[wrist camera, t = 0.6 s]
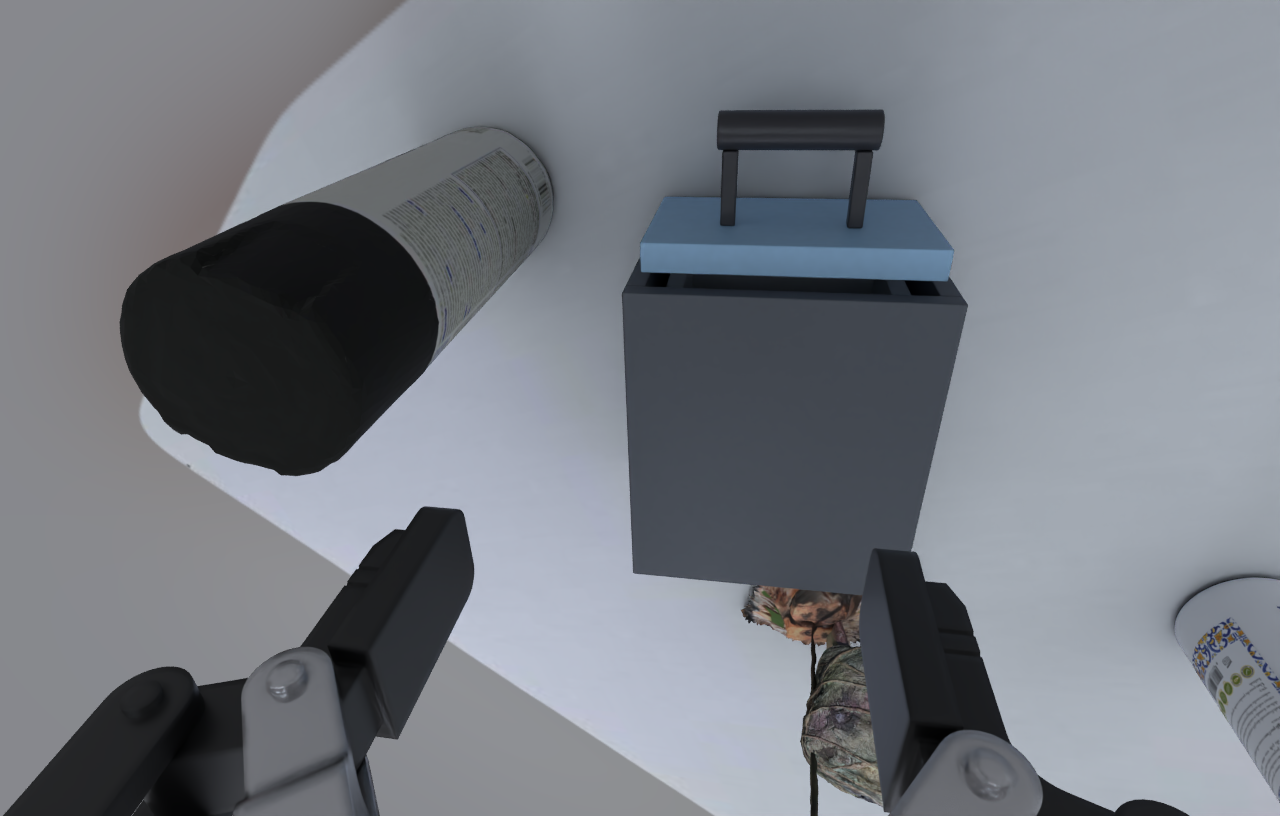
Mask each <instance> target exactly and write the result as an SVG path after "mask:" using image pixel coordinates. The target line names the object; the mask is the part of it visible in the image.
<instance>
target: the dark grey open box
mask: <svg viewBox="0 0 1280 816" xmlns="http://www.w3.org/2000/svg"><path fill="white" fill-rule="evenodd" d="M670 274H671V273H648V272H641V262H640V258H639V260H638V262H637V264H636V266H635V268H634V270H633V272H632V274H631V276H630V278H629V280H628V282H627V284H626V286H625V288H624V290H623V292H622V305H623V330H624V355H625V380H626V405H627V430H628V455H629V480H630V505H631V530H632V555H633V573H635V574H646V575H656V576H667V577H677V578H687V579H698V580H708V581H719V582H729V583H739V584H750V585H760V586H771V587H781V588H791V589H802V590H812V591H823V592H833V593H843V594H854V595H863V591H864V586H865V581H866V576H867V571H868V566H869V561H870V556H871V553H872V550H873V549H874V548H878V549H889V550H900V551H911V549H912V545H913V540H914V536H915V532H916V528H917V523H918V519H919V515H920V510H921V506H922V502H923V497H924V493H925V489H926V484H927V480H928V476H929V471H930V467H931V463H932V458H933V454H934V450H935V445H936V441H937V437H938V432H939V428H940V424H941V420H942V415H943V411H944V407H945V402H946V398H947V394H948V389H949V385H950V381H951V376H952V372H953V368H954V363H955V359H956V355H957V350H958V346H959V342H960V337H961V333H962V329H963V324H964V320H965V316H966V312H967V307H968V304H967V303H966V301H965V300H964V298H963V297H962V295H961V294H960V292H959V291H958V289H957V288H956V286H955V285H954V283H953V282H952V280H951V279H950V277H949V278H948V281H915V280H904V281H905V283H906V285H907V287H908V289H909V291H910V293H911V295H885V294H855V293H825V292H795V291H764V290H734V289H704V288H674V287H666V285H667V282H668V279H669V277H670Z"/></svg>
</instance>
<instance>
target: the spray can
mask: <svg viewBox="0 0 1280 816" xmlns="http://www.w3.org/2000/svg"><path fill="white" fill-rule="evenodd" d="M552 213H553V193H552V187H551V183H550V179H549V175H548V172H547V170H546V169H545V168H544V166H543V165H542V163H541V162H540V161H539V159H538V158H537V157H536V155H535V154H534V153H533V151H532V150H531V149H530V148H529V147H528V146H527V145H526V144H524V143H523V142H521V141H520V140H519V139H517V138H516V137H514V136H513V135H511V134H510V133H508V132H506V131H502V130H498V129H494V128H488V127H471V128H465V129H462V130H458V131H455V132H453V133H450V134H448V135H446V136H443V137H441V138H439V139H437V140H434V141H432V142H430V143H427V144H425V145H423V146H420V147H418V148H416V149H414V150H411V151H409V152H406V153H404V154H402V155H399V156H397V157H395V158H392V159H390V160H387V161H385V162H383V163H380V164H378V165H376V166H373V167H371V168H368V169H366V170H364V171H361V172H359V173H357V174H355V175H352V176H349V177H347V178H345V179H342V180H340V181H338V182H335V183H333V184H330V185H328V186H326V187H323V188H321V189H319V190H316V191H314V192H312V193H309V194H307V195H304V196H302V197H300V198H297V199H295V200H292V201H290V202H288V203H285V204H283V205H281V206H278V207H276V208H274V209H272V210H270V211H268V212H265V213H263V214H261V215H259V216H257V217H255V218H253V219H251V220H249V221H246V222H244V223H242V224H239V225H237V226H235V227H233V228H231V229H229V230H227V231H224V232H222V233H220V234H218V235H216V236H214V237H212V238H209V239H207V240H205V241H203V242H201V243H198V244H196V245H194V246H192V247H190V248H188V249H186V250H183V251H181V252H178V253H176V254H173V255H171V256H169V257H167V258H164V259H162V260H160V261H158V262H157V263H154V264H153V265H152V266H151V267H149V268H148V269H146V270H145V271H144V272H142V273H141V274H140V275H139V276H138V277H137V278H136V279H135V280H134V281H133V283H132V284H131V285H130V286H129V288H128V289H127V292H126V295H125V298H124V301H123V305H122V313H121V318H120V334H121V342H122V348H123V352H124V356H125V360H126V363H127V365H128V368H129V371H130V373H131V374H132V376H133V378H134V380H135V382H136V383H137V385H138V387H139V389H140V390H141V392H142V393H143V395H144V396H145V397H146V398H147V400H148V401H149V402H150V403H151V404H152V406H153V407H154V408H155V409H156V410H157V411H158V412H159V414H160V415H161V417H162V419H163V420H164V422H165V423H167V424H168V425H169V426H170V427H171V428H172V429H173V430H175V431H176V432H178V433H180V434H188V435H190V436H191V437H193V438H195V439H197V440H199V441H201V442H203V443H205V444H207V445H209V446H210V447H211V448H212V450H213V451H214V452H215V453H217V454H220V455H222V456H225V457H228V458H230V459H233V460H236V461H239V462H243V463H247V464H253V465H257V466H261V467H265V468H268V469H272V470H275V471H276V472H277V473H279V474H280V475H290V476H300V475H306V474H311V473H315V472H319V471H321V470H322V469H324V468H325V467H327V466H328V465H330V464H331V463H333V462H336V461H338V460H339V459H340V458H341V457H342V456H343V455H344V454H345V453H346V452H348V450H349V449H350V448H351V447H352V446H353V445H354V444H355V443H356V441H357V440H358V439H359V438H360V437H361V436H362V435H363V434H364V433H365V432H366V431H367V430H368V429H369V428H370V427H371V426H372V425H373V424H374V423H375V422H376V421H377V420H378V419H379V417H380V416H381V415H382V414H383V413H384V412H385V411H386V410H387V409H388V408H389V407H390V406H391V405H392V404H393V403H394V402H395V401H396V400H397V399H398V398H399V397H400V396H401V395H402V394H403V393H404V392H405V391H406V390H407V389H408V388H409V387H410V386H411V385H412V384H413V383H414V382H415V381H416V380H417V379H418V378H419V377H420V376H421V375H422V374H423V373H424V372H425V370H426V368H427V367H428V366H429V365H430V364H431V363H432V362H433V361H434V360H435V359H436V357H437V356H438V355H439V354H440V353H441V351H442V350H443V349H444V348H445V347H446V346H447V345H448V344H449V343H450V342H451V341H452V339H453V338H454V337H455V336H456V335H457V334H458V333H459V332H460V331H461V329H462V328H463V327H464V326H465V325H466V324H467V323H468V322H469V321H470V320H471V318H472V317H473V316H474V315H475V314H476V313H477V312H478V311H479V310H480V309H481V308H482V307H483V306H484V304H485V303H486V302H487V301H488V300H489V299H490V298H491V297H492V296H493V295H494V293H495V292H496V291H497V290H498V289H499V288H500V287H501V286H502V285H503V284H504V283H505V282H506V280H507V279H508V278H509V277H510V276H511V275H512V274H513V273H514V272H515V271H516V270H517V268H518V267H519V266H520V265H521V264H522V263H523V262H524V260H525V259H526V258H527V257H528V256H529V255H530V254H531V253H532V252H533V251H534V249H535V248H536V247H537V246H538V245H539V244H540V242H541V241H542V240H543V238H544V236H545V235H546V233H547V230H548V228H549V225H550V222H551V219H552Z"/></svg>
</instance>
